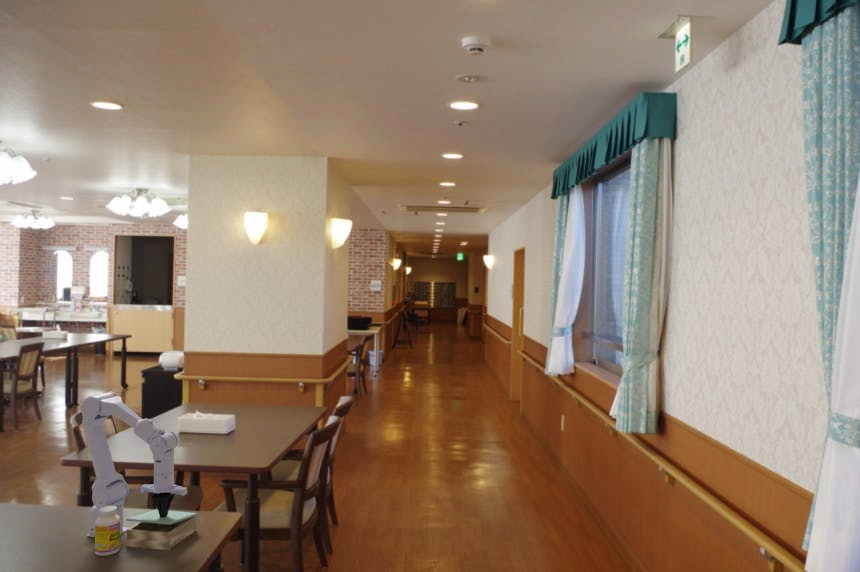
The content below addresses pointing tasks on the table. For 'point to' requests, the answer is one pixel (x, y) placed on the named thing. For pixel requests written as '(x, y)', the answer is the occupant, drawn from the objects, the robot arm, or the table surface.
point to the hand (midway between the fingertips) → (163, 516)
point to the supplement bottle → (107, 531)
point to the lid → (155, 517)
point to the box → (160, 534)
